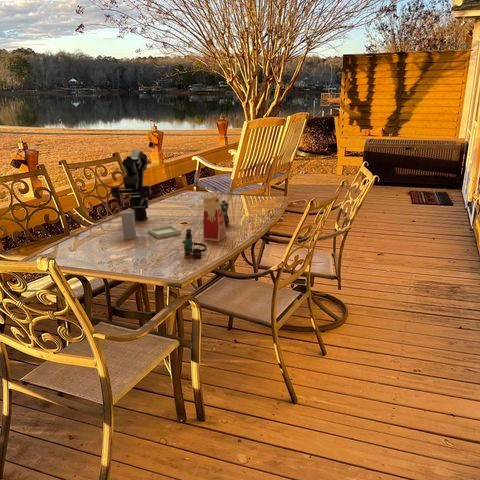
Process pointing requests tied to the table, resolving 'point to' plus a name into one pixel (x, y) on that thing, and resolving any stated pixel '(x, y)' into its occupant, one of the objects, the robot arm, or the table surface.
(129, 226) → the post
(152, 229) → the tray
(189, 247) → the binoculars
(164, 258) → the butter knife
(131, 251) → the table surface
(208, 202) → the milk carton
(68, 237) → the table surface
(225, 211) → the lucky cat figurine
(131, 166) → the robot arm
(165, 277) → the table surface
